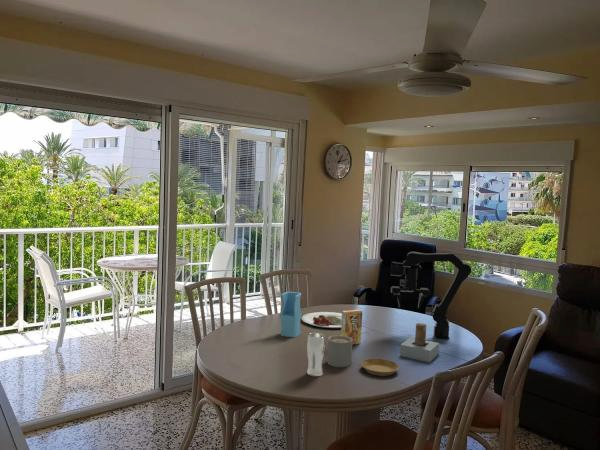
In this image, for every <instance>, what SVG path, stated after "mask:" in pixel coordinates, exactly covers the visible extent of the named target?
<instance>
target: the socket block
mask: <svg viewBox="0 0 600 450" xmlns="http://www.w3.org/2000/svg"><path fill="white" fill-rule="evenodd" d="M399 347H400V350H399V352H400V353H399V356H400V357H404V358H408V359H413V360H416V361H421V362H426V363H431V362H432V361H433V360H434V359H436V357H437V356H438V355H439V354H440V342H436V341H432V340H431V341H430V340H426V341H425V347H423V346H418V345H415V337H410V338H407V339H406V340H405V341H404V342H402V343H400V346H399Z"/></svg>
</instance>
